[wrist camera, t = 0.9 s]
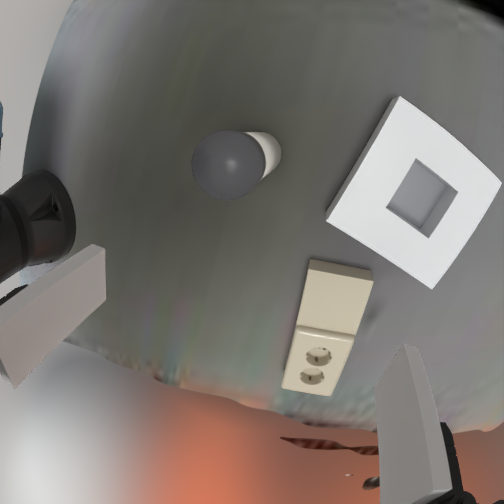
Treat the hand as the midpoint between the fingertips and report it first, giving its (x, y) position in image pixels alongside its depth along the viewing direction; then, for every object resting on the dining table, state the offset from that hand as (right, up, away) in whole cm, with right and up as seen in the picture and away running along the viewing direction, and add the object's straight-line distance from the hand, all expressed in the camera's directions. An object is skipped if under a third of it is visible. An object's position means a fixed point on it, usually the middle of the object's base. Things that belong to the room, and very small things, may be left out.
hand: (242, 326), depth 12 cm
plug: (+1, +13, +19) cm, 23 cm away
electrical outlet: (+10, -6, +25) cm, 28 cm away
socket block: (+17, +9, +16) cm, 25 cm away
